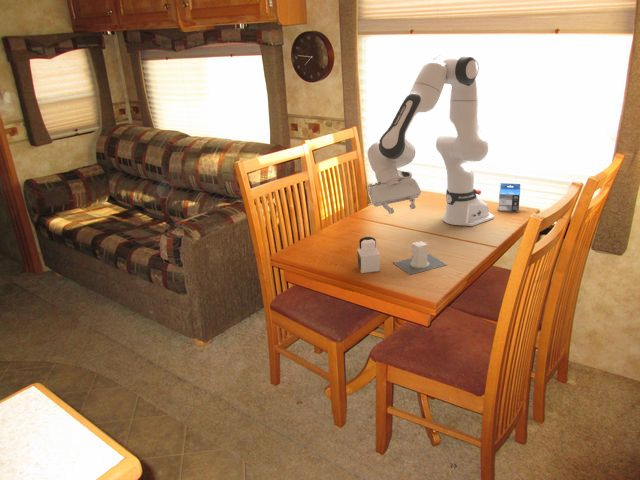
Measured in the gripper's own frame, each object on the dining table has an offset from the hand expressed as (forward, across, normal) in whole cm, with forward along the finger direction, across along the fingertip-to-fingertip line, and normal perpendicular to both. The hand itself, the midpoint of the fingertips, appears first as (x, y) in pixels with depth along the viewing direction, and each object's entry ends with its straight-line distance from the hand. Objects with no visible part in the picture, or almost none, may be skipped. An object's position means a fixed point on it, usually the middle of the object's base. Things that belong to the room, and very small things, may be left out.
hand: (402, 210), depth 201 cm
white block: (+21, 0, +4) cm, 21 cm away
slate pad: (+21, 0, +4) cm, 21 cm away
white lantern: (+16, -18, +9) cm, 26 cm away
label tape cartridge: (+1, +66, +25) cm, 70 cm away
